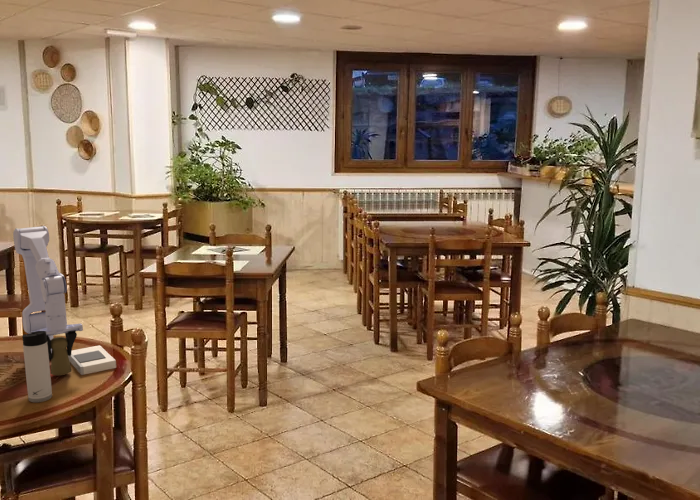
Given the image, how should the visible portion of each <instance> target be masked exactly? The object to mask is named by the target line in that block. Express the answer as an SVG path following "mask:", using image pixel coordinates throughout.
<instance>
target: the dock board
mask: <svg viewBox="0 0 700 500" xmlns="http://www.w3.org/2000/svg"><path fill="white" fill-rule="evenodd" d="M98 350H99V351H100V352H101V353H102V354H103V355H104V356H105V357H106V358H104V359H99V360H93V361H88V362H83V363H80V362H79V361H78V360H77V359H76V358H75V357H74V355H77V354H82V353H88V352H93V351H98ZM68 357H69V361H70V365H72V366H73V367H74V369H75V370H76V371H77V372H78V373H79V374H80V375H81V376H83V375H88V374H93V373H97V372H102V371H107V370H112V369H116V368H117V361H116V359H115V358H114V357H113V356H111V354H110V353H108V351H106V349H104V348H103V346H101V345H95V346H94V345H93V346H89V347H83V348H78V349H74V350H73V349H72V351H71V356H68Z"/></svg>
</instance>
